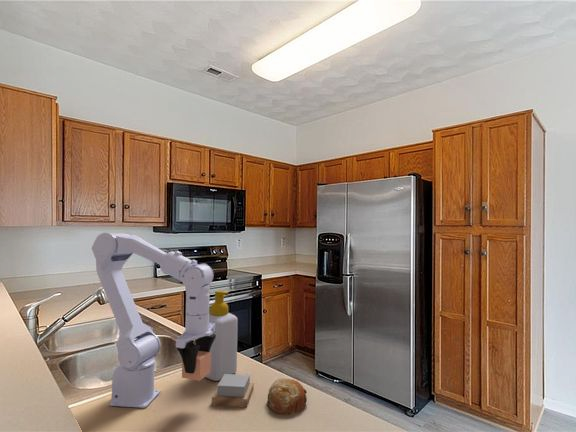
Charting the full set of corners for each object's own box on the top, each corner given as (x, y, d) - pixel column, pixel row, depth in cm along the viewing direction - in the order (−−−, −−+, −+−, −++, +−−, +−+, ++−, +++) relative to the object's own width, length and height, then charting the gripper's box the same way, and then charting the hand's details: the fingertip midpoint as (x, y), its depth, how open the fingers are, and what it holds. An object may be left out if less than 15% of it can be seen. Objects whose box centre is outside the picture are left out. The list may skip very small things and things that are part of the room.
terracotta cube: (181, 377, 80) (182, 356, 80) (193, 369, 85) (193, 350, 85) (199, 380, 79) (200, 359, 79) (210, 372, 83) (211, 352, 84)
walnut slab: (211, 407, 82) (211, 397, 83) (221, 390, 91) (221, 381, 91) (246, 409, 82) (247, 399, 82) (253, 392, 91) (253, 382, 91)
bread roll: (268, 410, 87) (256, 384, 86) (301, 388, 90) (289, 363, 90) (281, 432, 78) (267, 403, 77) (316, 406, 81) (304, 378, 80)
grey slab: (217, 395, 83) (217, 385, 83) (224, 383, 90) (224, 373, 90) (244, 397, 83) (244, 386, 83) (249, 384, 90) (249, 375, 90)
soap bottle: (215, 383, 94) (217, 295, 95) (196, 374, 100) (198, 291, 101) (238, 372, 101) (240, 290, 103) (218, 365, 107) (220, 287, 108)
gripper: (195, 321, 74) (193, 382, 74) (225, 307, 88) (224, 359, 88) (168, 319, 76) (167, 378, 76) (202, 305, 90) (201, 356, 90)
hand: (196, 368), depth 82 cm, fingers closed on terracotta cube, 5 cm apart
